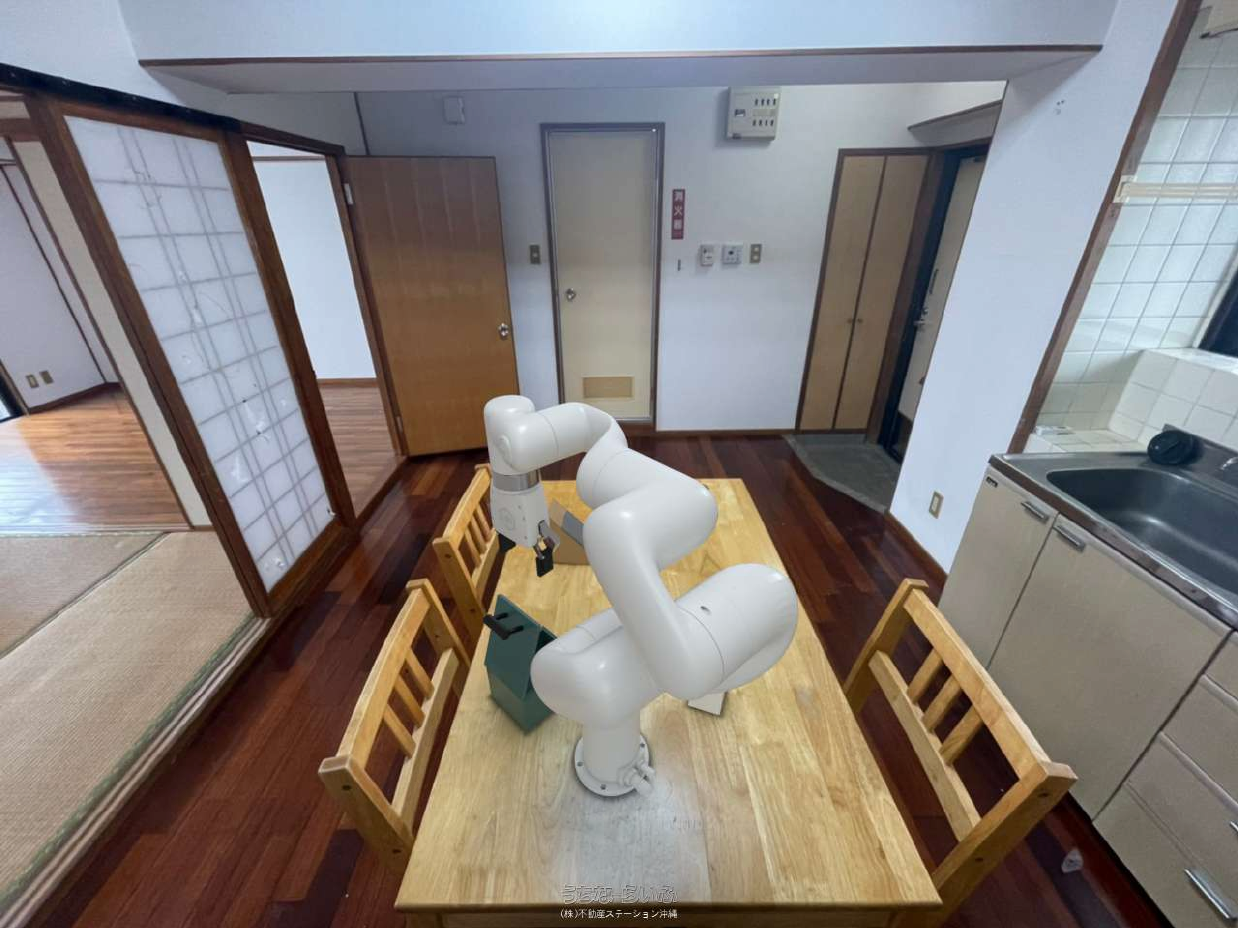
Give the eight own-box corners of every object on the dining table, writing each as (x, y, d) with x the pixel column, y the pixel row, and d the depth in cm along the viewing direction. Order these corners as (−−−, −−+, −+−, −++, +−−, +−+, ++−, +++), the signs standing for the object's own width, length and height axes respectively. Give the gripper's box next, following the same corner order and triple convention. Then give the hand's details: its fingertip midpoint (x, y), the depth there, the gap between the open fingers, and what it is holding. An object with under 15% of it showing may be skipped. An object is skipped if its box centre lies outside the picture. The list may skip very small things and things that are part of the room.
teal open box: (546, 654, 108) (543, 625, 104) (582, 685, 101) (581, 655, 97) (491, 695, 99) (485, 665, 95) (527, 732, 92) (523, 701, 88)
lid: (501, 593, 92) (475, 600, 88) (541, 625, 85) (515, 633, 81) (487, 663, 95) (461, 672, 91) (524, 699, 89) (498, 711, 84)
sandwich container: (608, 565, 133) (606, 517, 126) (549, 562, 135) (545, 514, 128) (611, 545, 141) (610, 498, 134) (556, 543, 142) (552, 496, 135)
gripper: (464, 466, 83) (478, 550, 91) (535, 503, 73) (543, 594, 81) (501, 450, 88) (511, 531, 96) (572, 483, 78) (577, 571, 87)
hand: (526, 560), depth 89 cm, fingers open, 9 cm apart
